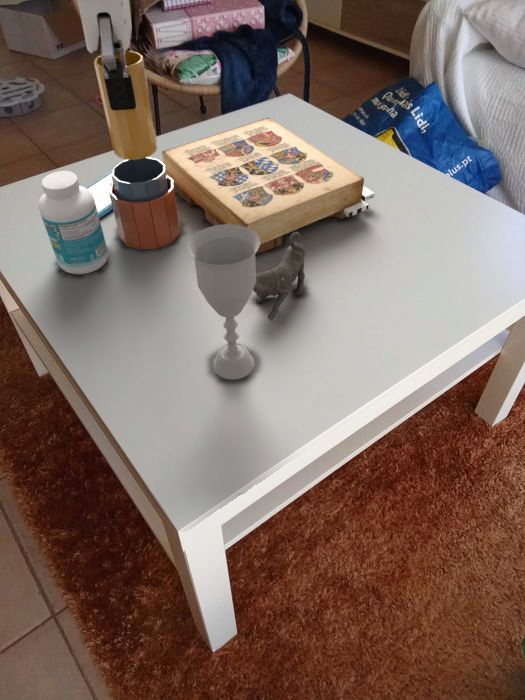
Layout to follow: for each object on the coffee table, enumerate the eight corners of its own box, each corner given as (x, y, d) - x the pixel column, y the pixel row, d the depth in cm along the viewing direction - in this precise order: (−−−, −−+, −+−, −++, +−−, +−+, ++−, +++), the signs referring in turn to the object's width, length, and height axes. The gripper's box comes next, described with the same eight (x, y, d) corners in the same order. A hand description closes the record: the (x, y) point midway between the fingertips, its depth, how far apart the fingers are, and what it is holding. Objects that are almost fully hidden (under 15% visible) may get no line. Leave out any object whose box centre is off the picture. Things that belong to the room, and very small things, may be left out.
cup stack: (118, 251, 86) (103, 189, 78) (122, 217, 92) (108, 156, 85) (180, 246, 86) (171, 184, 79) (179, 212, 93) (171, 152, 85)
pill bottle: (57, 251, 86) (29, 170, 76) (106, 242, 88) (85, 161, 78) (60, 281, 81) (31, 198, 71) (112, 271, 83) (90, 188, 73)
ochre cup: (112, 161, 77) (92, 69, 69) (115, 140, 81) (96, 51, 73) (156, 158, 78) (141, 66, 69) (157, 137, 82) (143, 49, 73)
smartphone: (55, 208, 93) (117, 167, 101) (57, 214, 94) (119, 173, 102) (87, 221, 90) (149, 178, 98) (89, 227, 91) (150, 184, 99)
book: (380, 213, 92) (281, 146, 108) (386, 178, 88) (281, 113, 104) (255, 268, 83) (167, 185, 99) (254, 232, 78) (161, 151, 94)
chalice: (210, 391, 67) (194, 270, 54) (199, 350, 71) (182, 231, 58) (269, 377, 68) (268, 257, 55) (255, 339, 72) (250, 219, 59)
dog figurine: (279, 266, 83) (280, 222, 77) (315, 278, 81) (318, 234, 75) (237, 314, 76) (234, 270, 70) (274, 329, 74) (274, 285, 68)
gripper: (67, -84, 67) (102, 74, 80) (45, -50, 55) (90, 129, 68) (131, -87, 67) (155, 70, 80) (123, -54, 56) (152, 125, 69)
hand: (125, 96), depth 74 cm, fingers closed on ochre cup, 6 cm apart
